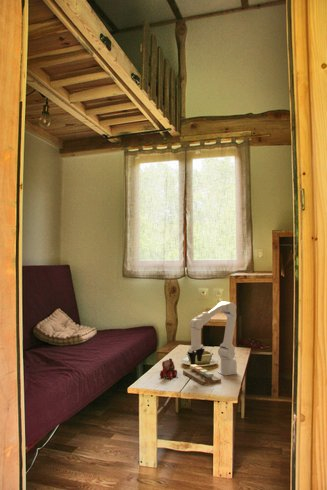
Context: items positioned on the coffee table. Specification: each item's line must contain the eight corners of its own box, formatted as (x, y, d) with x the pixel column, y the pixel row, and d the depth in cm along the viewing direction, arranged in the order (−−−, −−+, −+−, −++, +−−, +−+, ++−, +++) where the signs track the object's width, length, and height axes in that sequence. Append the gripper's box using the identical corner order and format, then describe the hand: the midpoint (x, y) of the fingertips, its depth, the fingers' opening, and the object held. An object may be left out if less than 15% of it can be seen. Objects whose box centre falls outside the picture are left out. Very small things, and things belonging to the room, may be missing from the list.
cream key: (195, 370, 247) (195, 364, 247) (198, 371, 244) (198, 365, 244) (190, 370, 246) (190, 365, 246) (193, 372, 242) (193, 366, 242)
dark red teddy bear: (178, 375, 242) (179, 358, 242) (168, 380, 231) (168, 362, 232) (169, 373, 245) (169, 356, 246) (158, 378, 235) (158, 360, 235)
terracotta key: (200, 372, 241) (200, 366, 242) (203, 374, 238) (203, 368, 238) (194, 373, 240) (194, 367, 240) (197, 375, 237) (197, 369, 237)
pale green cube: (205, 375, 236) (205, 369, 236) (208, 377, 232) (208, 371, 233) (199, 376, 234) (199, 370, 235) (202, 377, 231) (202, 371, 231)
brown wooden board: (200, 371, 250) (200, 368, 250) (221, 382, 227) (221, 379, 227) (183, 373, 245) (183, 370, 245) (202, 385, 222) (202, 381, 222)
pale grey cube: (210, 378, 230) (210, 372, 231) (213, 380, 227) (213, 373, 227) (204, 379, 229) (204, 372, 229) (207, 380, 225) (207, 374, 226)
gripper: (195, 336, 243) (196, 359, 243) (184, 340, 231) (184, 364, 231) (206, 337, 239) (206, 360, 239) (194, 342, 227) (194, 366, 227)
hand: (196, 362), depth 235 cm, fingers open, 7 cm apart
